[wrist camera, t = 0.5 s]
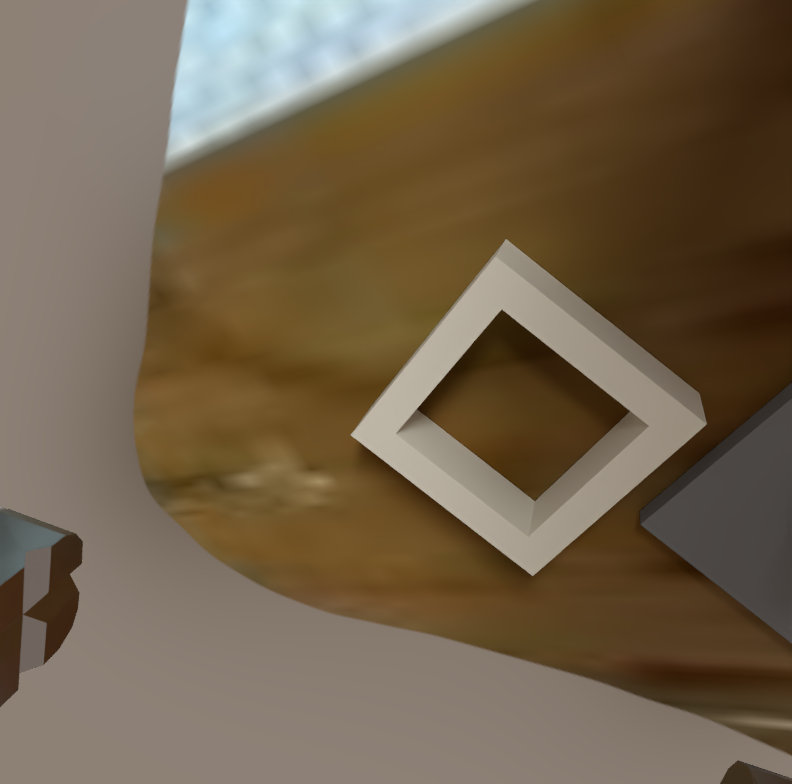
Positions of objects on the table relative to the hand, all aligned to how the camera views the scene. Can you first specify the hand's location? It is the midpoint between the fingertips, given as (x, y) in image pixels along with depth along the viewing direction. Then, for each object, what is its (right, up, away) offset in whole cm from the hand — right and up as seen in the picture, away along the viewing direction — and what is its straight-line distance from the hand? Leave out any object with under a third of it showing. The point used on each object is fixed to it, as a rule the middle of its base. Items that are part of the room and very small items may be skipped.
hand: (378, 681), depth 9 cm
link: (+8, +3, +36) cm, 37 cm away
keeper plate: (+25, -3, +34) cm, 42 cm away
